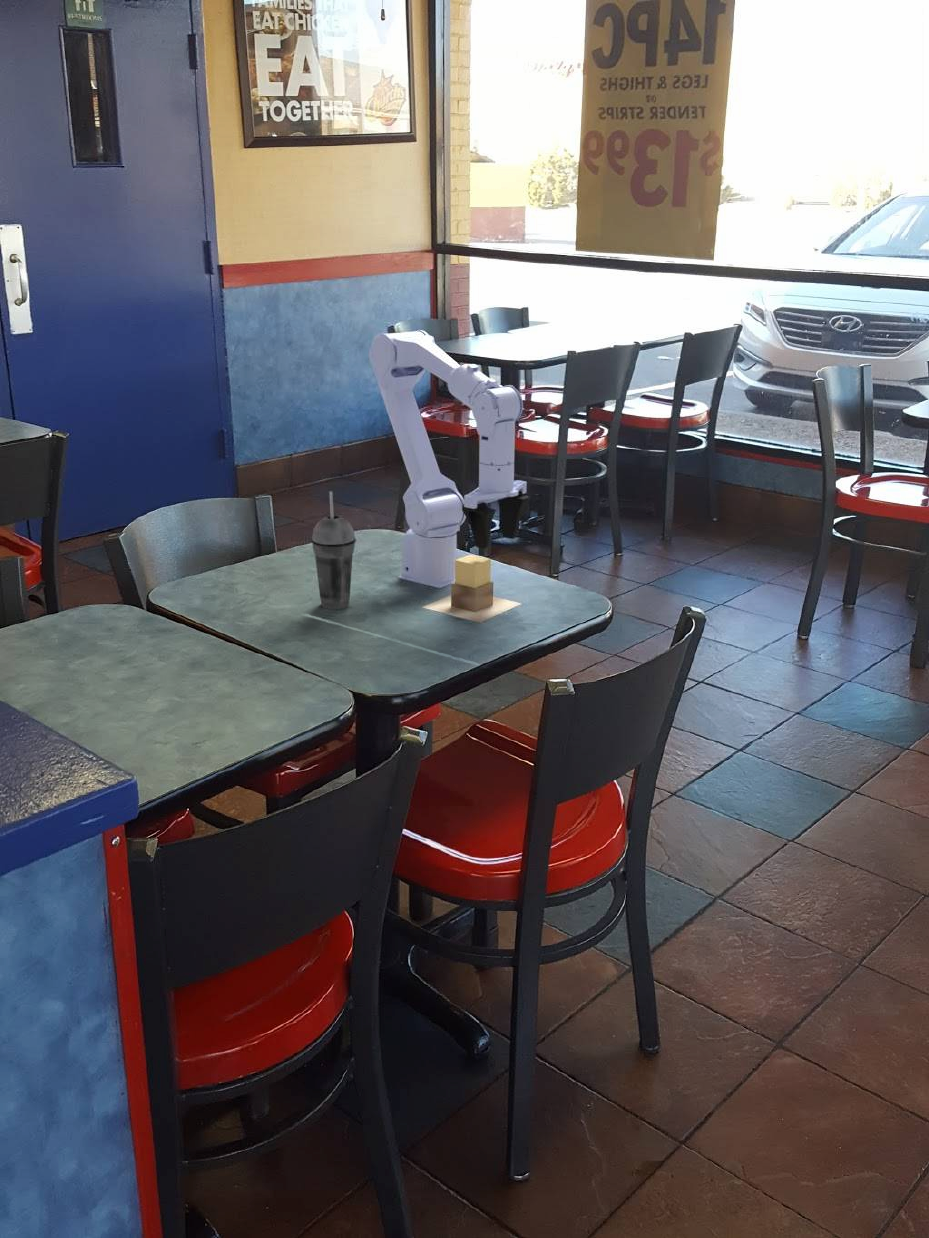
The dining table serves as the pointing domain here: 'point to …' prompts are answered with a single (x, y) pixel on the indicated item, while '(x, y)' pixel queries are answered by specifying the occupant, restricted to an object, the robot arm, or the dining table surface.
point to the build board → (479, 616)
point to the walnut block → (471, 596)
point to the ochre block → (472, 571)
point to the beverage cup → (334, 559)
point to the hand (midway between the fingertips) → (495, 542)
